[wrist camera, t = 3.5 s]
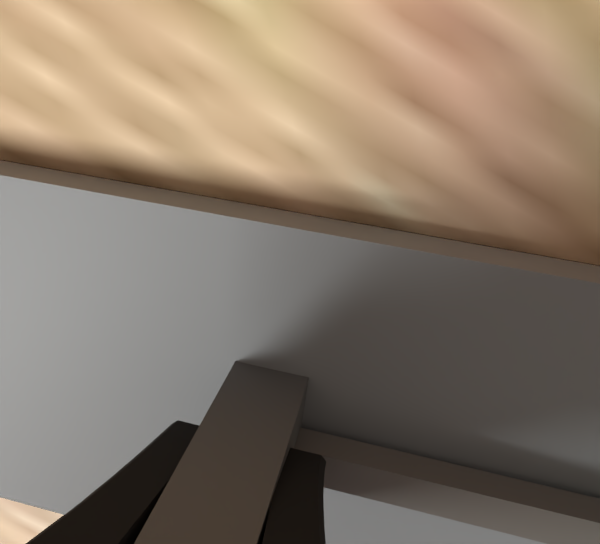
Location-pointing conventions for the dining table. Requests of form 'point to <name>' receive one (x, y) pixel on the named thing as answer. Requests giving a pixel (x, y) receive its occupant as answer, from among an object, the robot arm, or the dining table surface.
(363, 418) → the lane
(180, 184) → the dining table surface
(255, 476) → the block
